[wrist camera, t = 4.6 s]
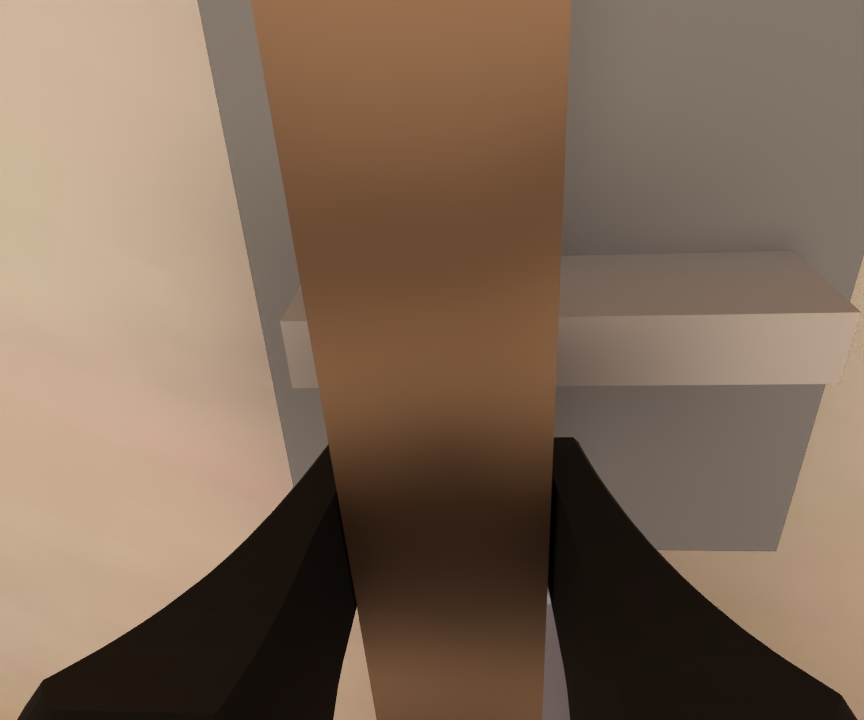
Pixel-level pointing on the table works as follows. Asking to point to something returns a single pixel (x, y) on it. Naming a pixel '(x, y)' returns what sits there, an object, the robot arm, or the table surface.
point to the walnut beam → (432, 321)
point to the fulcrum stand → (650, 249)
